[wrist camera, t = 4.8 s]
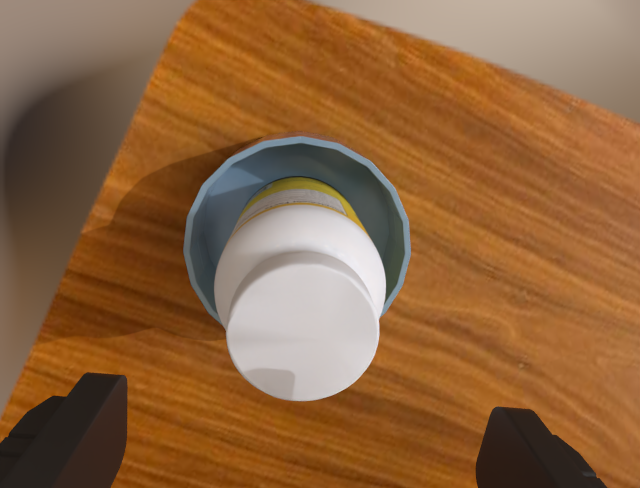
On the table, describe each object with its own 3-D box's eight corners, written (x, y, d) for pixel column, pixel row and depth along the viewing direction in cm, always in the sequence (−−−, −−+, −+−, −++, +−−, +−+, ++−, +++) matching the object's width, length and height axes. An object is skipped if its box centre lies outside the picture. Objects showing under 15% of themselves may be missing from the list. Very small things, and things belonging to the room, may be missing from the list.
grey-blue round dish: (334, 343, 27) (341, 382, 23) (169, 267, 25) (148, 297, 21) (427, 190, 25) (452, 207, 21) (254, 93, 23) (246, 91, 19)
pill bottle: (322, 304, 26) (345, 455, 15) (218, 257, 25) (160, 383, 14) (378, 206, 24) (450, 293, 13) (270, 150, 23) (251, 195, 12)
